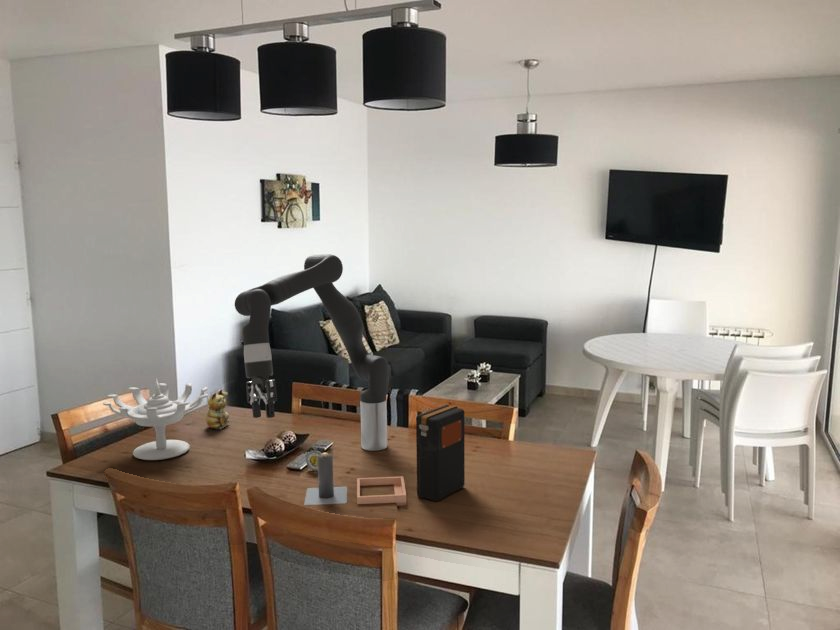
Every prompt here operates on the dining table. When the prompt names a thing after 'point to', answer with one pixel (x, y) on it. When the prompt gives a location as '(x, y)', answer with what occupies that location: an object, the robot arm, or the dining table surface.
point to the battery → (325, 475)
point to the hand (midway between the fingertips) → (263, 417)
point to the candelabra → (158, 419)
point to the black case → (440, 452)
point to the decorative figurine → (217, 410)
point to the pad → (338, 498)
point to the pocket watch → (312, 459)
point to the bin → (398, 497)
